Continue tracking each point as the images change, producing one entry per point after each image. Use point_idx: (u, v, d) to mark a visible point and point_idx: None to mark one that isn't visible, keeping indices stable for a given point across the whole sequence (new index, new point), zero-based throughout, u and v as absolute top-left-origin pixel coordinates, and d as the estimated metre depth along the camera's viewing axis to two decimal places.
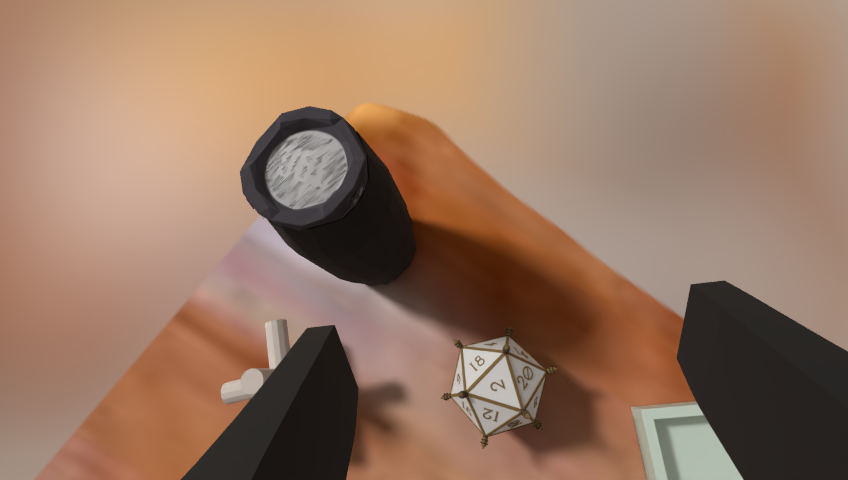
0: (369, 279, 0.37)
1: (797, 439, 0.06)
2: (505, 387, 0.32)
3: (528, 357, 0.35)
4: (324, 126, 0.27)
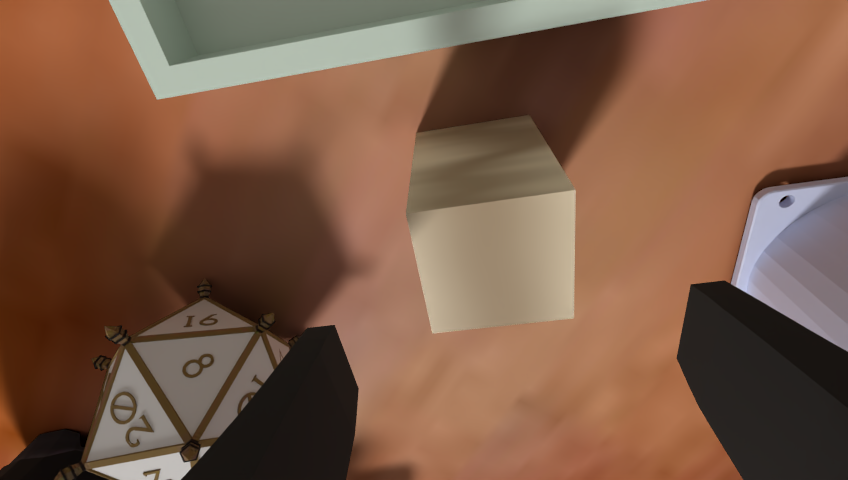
0: None
1: (798, 439, 0.06)
2: (155, 468, 0.14)
3: None
4: None
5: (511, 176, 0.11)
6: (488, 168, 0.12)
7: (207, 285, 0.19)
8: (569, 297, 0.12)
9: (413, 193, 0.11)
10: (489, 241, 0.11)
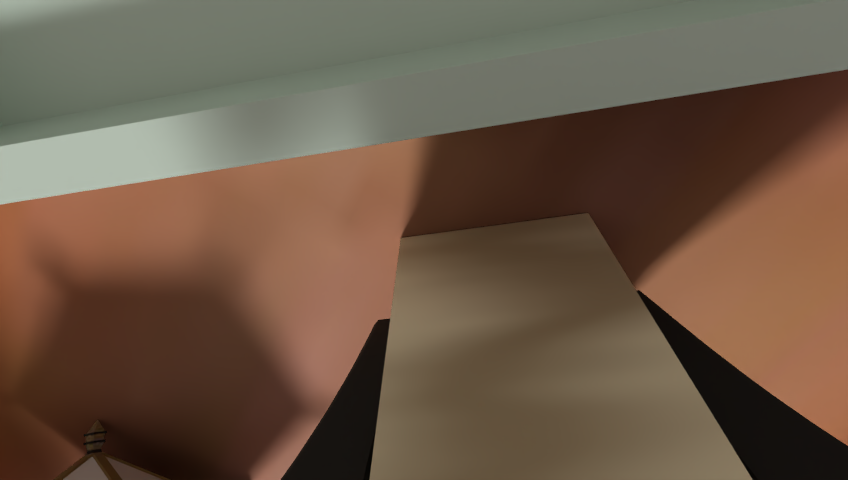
0: None
1: None
2: None
3: None
4: None
5: (595, 420, 0.05)
6: (539, 374, 0.06)
7: (100, 431, 0.13)
8: None
9: (383, 450, 0.05)
10: None
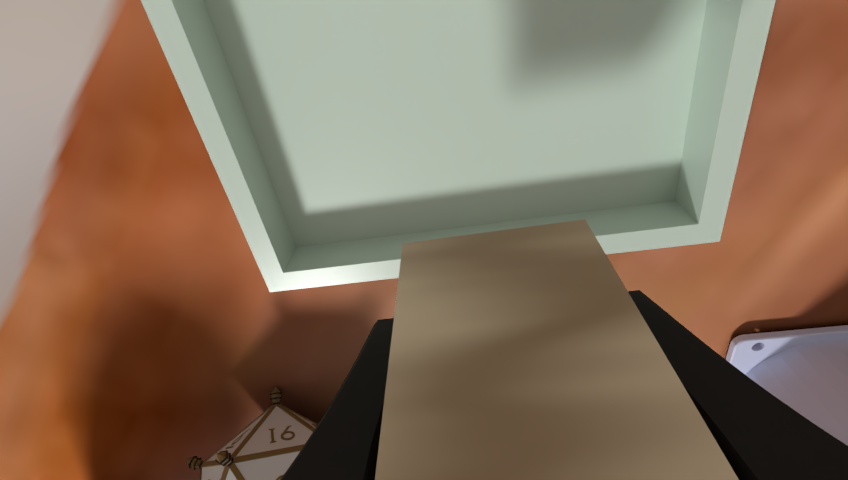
0: None
1: None
2: None
3: None
4: None
5: (590, 422, 0.05)
6: (537, 377, 0.06)
7: (278, 392, 0.23)
8: None
9: (388, 450, 0.06)
10: None
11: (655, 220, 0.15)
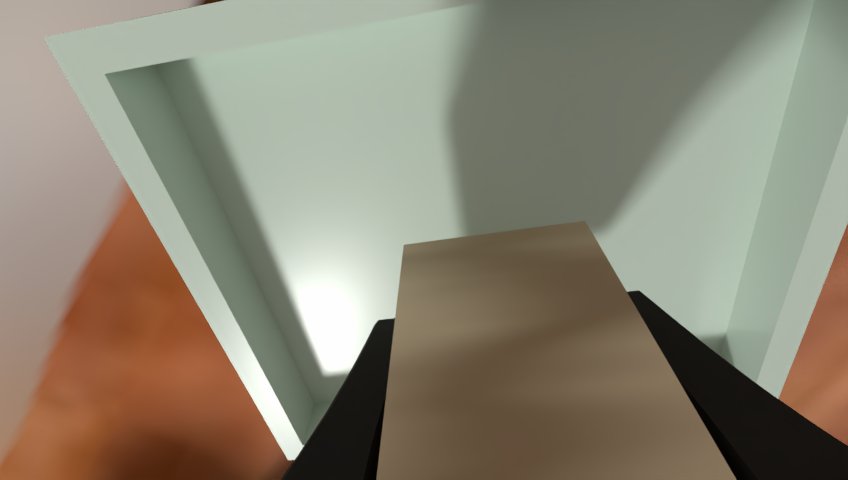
0: None
1: None
2: None
3: None
4: None
5: (589, 423, 0.05)
6: (538, 378, 0.06)
7: None
8: None
9: (389, 451, 0.06)
10: None
11: None
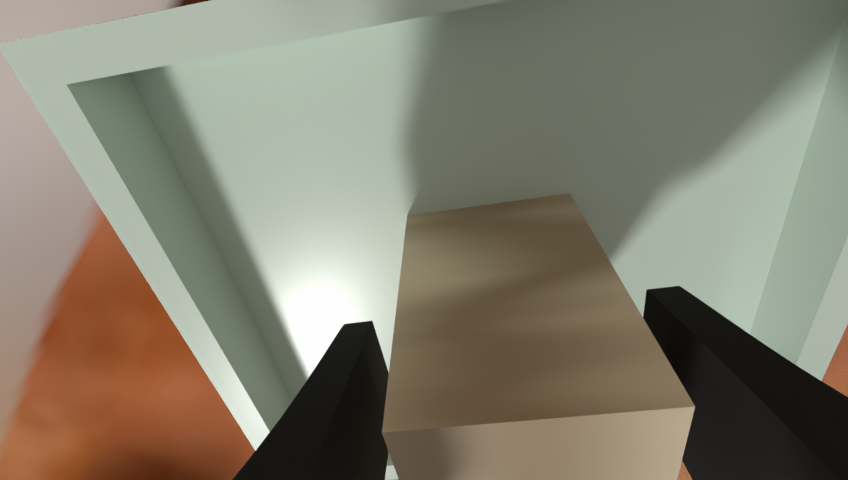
0: None
1: (737, 443, 0.06)
2: None
3: None
4: None
5: (564, 345, 0.07)
6: (522, 315, 0.07)
7: None
8: None
9: (397, 370, 0.07)
10: (529, 468, 0.06)
11: None
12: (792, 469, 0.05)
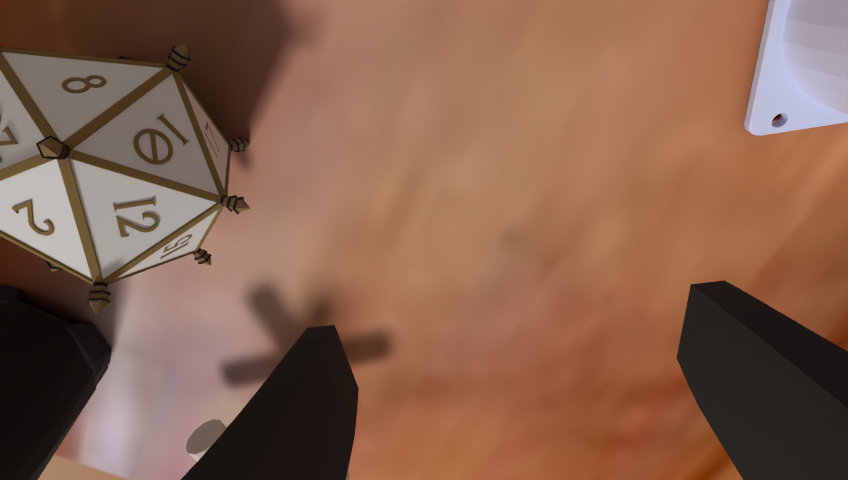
0: (10, 426, 0.19)
1: (798, 439, 0.06)
2: (26, 198, 0.11)
3: None
4: None
5: None
6: None
7: (127, 58, 0.16)
8: None
9: None
10: None
11: None
12: None
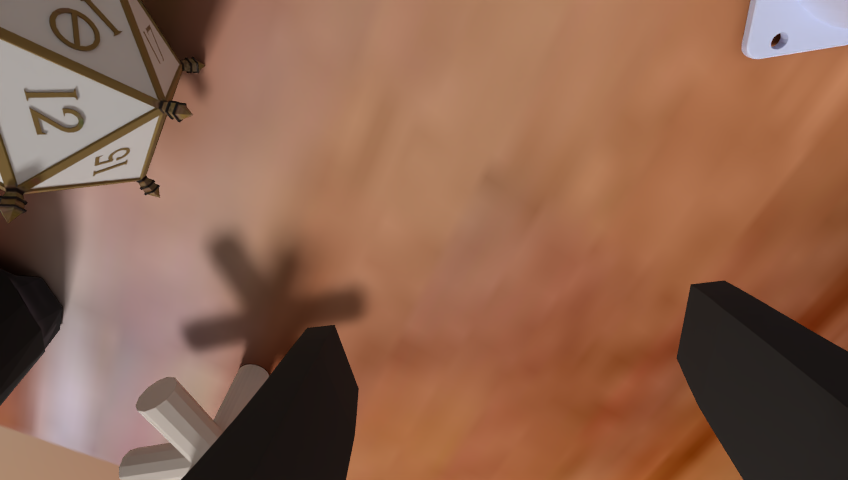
0: None
1: (797, 438, 0.06)
2: None
3: None
4: None
5: None
6: None
7: None
8: None
9: None
10: None
11: None
12: None
